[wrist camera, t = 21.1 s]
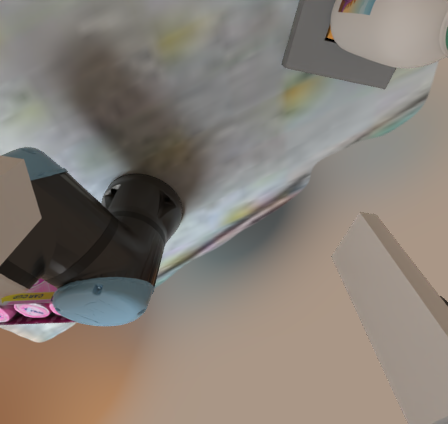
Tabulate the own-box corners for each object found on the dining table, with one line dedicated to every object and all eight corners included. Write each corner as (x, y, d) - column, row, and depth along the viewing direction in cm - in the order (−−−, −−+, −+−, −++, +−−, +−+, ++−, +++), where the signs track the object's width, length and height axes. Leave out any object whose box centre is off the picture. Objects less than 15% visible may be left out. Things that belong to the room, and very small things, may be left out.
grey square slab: (375, 83, 37) (385, 89, 35) (281, 63, 36) (285, 67, 33) (443, -52, 29) (462, -58, 26) (323, -86, 27) (332, -94, 25)
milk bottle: (395, 40, 31) (560, 73, 16) (329, 60, 33) (420, 109, 17) (404, -46, 27) (649, -118, 11) (327, -18, 28) (448, -48, 13)
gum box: (101, 248, 60) (73, 301, 49) (113, 270, 65) (91, 322, 54) (5, 254, 62) (-42, 306, 51) (24, 275, 67) (-15, 326, 56)
